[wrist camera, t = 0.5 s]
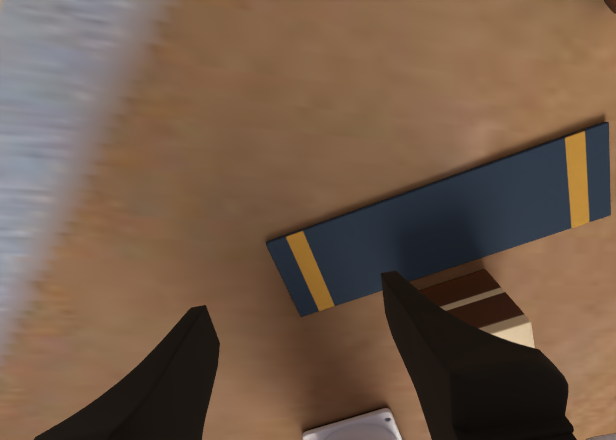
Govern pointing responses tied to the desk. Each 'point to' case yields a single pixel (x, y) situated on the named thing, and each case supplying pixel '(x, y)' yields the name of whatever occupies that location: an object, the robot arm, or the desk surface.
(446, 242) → the cloth
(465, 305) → the cake slice
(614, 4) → the sunglasses case
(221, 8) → the desk surface
